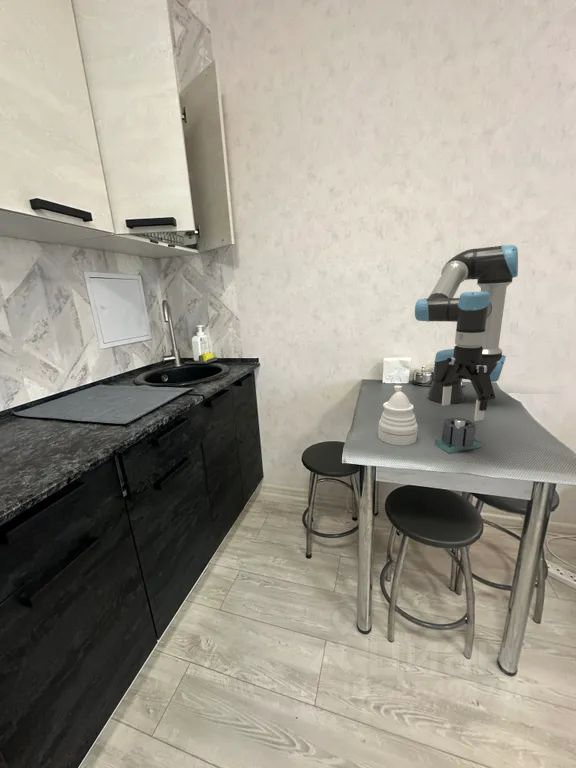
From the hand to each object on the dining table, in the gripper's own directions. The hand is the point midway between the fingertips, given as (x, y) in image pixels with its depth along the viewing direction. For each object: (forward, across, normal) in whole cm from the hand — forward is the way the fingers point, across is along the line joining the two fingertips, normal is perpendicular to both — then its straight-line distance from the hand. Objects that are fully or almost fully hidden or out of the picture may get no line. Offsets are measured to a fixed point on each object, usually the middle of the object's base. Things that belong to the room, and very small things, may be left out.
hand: (461, 412), depth 100 cm
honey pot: (+12, -12, -15) cm, 22 cm away
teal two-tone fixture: (+12, 0, -1) cm, 12 cm away
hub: (+10, 0, -1) cm, 10 cm away
